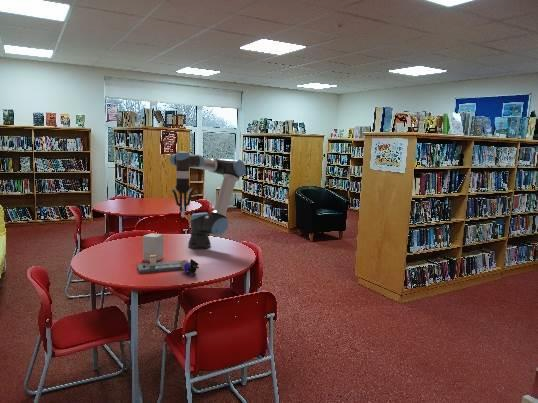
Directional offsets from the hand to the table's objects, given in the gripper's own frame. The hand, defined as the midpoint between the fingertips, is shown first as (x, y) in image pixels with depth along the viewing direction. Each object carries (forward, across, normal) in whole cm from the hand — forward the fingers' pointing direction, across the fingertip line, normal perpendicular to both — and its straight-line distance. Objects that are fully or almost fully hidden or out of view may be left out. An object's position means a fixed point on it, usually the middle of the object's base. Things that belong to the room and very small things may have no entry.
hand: (183, 216), depth 247 cm
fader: (+24, +19, +15) cm, 34 cm away
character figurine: (+27, +1, +29) cm, 39 cm away
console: (+26, +13, +15) cm, 33 cm away
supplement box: (+27, +17, -5) cm, 32 cm away
